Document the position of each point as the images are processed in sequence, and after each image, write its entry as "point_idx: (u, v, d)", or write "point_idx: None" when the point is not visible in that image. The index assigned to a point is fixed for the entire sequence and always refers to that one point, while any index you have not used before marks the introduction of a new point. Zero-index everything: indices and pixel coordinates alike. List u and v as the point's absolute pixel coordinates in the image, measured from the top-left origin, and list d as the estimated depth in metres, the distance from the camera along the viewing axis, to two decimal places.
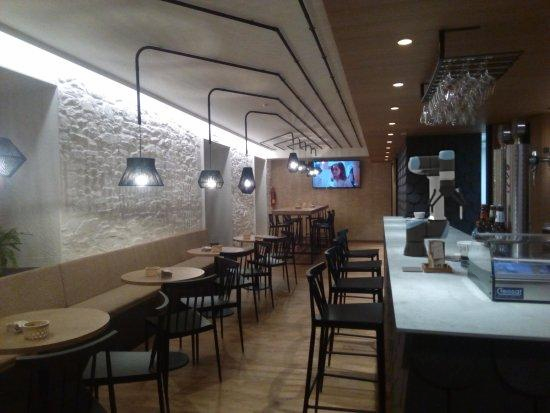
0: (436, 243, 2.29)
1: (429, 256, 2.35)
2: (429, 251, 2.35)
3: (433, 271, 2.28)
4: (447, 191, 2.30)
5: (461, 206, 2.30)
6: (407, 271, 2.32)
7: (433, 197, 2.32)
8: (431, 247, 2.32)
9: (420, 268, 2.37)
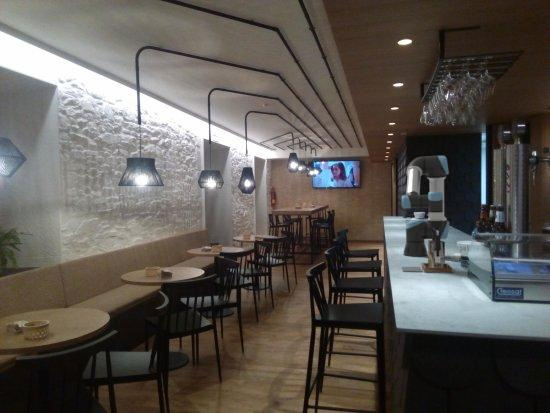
0: None
1: (429, 256, 2.35)
2: (429, 251, 2.35)
3: (433, 271, 2.28)
4: (433, 231, 2.33)
5: None
6: (407, 271, 2.32)
7: (432, 237, 2.39)
8: (431, 247, 2.32)
9: (420, 268, 2.37)
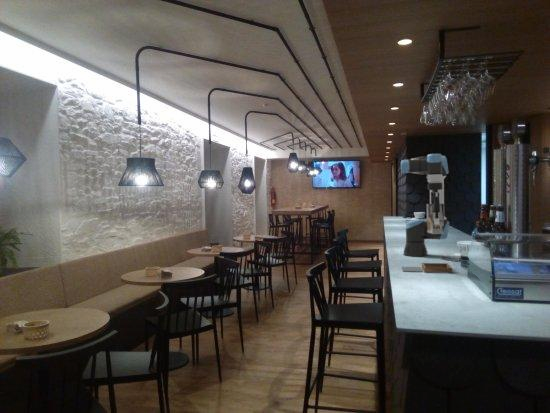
0: None
1: (428, 219, 2.34)
2: (428, 214, 2.34)
3: (433, 271, 2.28)
4: None
5: None
6: (407, 271, 2.32)
7: (431, 200, 2.38)
8: (430, 210, 2.31)
9: (420, 268, 2.37)
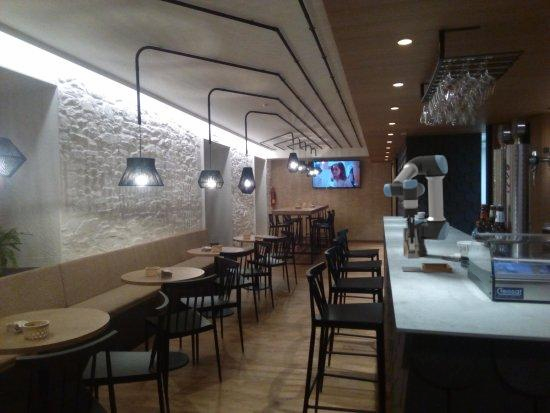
0: None
1: (404, 243, 2.38)
2: (404, 238, 2.38)
3: (433, 271, 2.28)
4: (408, 219, 2.36)
5: None
6: (407, 271, 2.32)
7: None
8: (406, 234, 2.34)
9: (420, 268, 2.37)
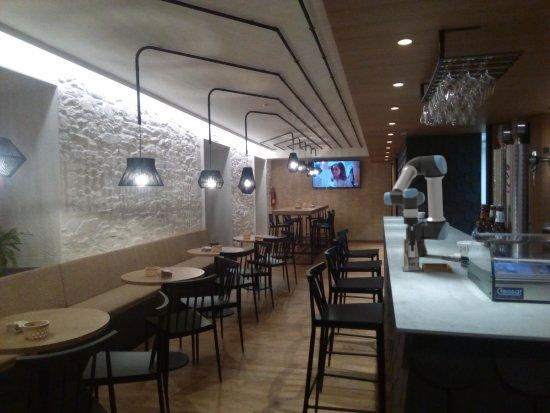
0: None
1: (404, 255, 2.38)
2: (404, 250, 2.38)
3: (433, 271, 2.28)
4: (408, 228, 2.36)
5: None
6: (407, 271, 2.32)
7: None
8: (406, 246, 2.35)
9: (420, 268, 2.37)
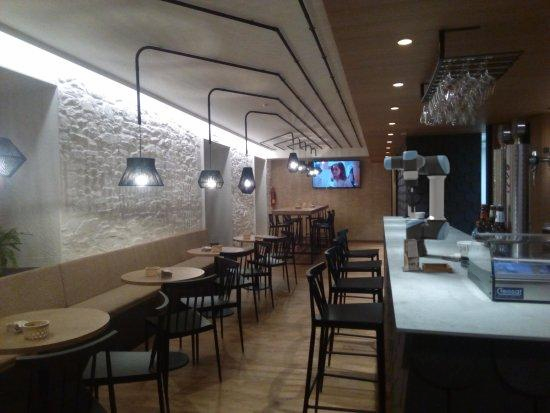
0: (410, 242, 2.32)
1: (404, 255, 2.38)
2: (404, 250, 2.38)
3: (433, 271, 2.28)
4: None
5: None
6: (407, 271, 2.32)
7: None
8: (406, 246, 2.35)
9: (420, 268, 2.37)
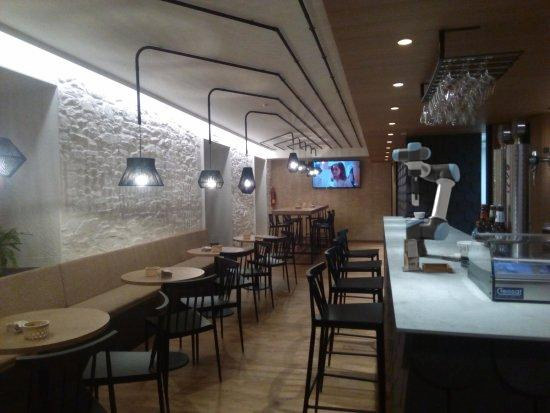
0: (410, 242, 2.32)
1: (404, 255, 2.38)
2: (404, 250, 2.38)
3: (433, 271, 2.28)
4: (412, 180, 2.53)
5: None
6: (407, 271, 2.32)
7: None
8: (406, 246, 2.35)
9: (420, 268, 2.37)
